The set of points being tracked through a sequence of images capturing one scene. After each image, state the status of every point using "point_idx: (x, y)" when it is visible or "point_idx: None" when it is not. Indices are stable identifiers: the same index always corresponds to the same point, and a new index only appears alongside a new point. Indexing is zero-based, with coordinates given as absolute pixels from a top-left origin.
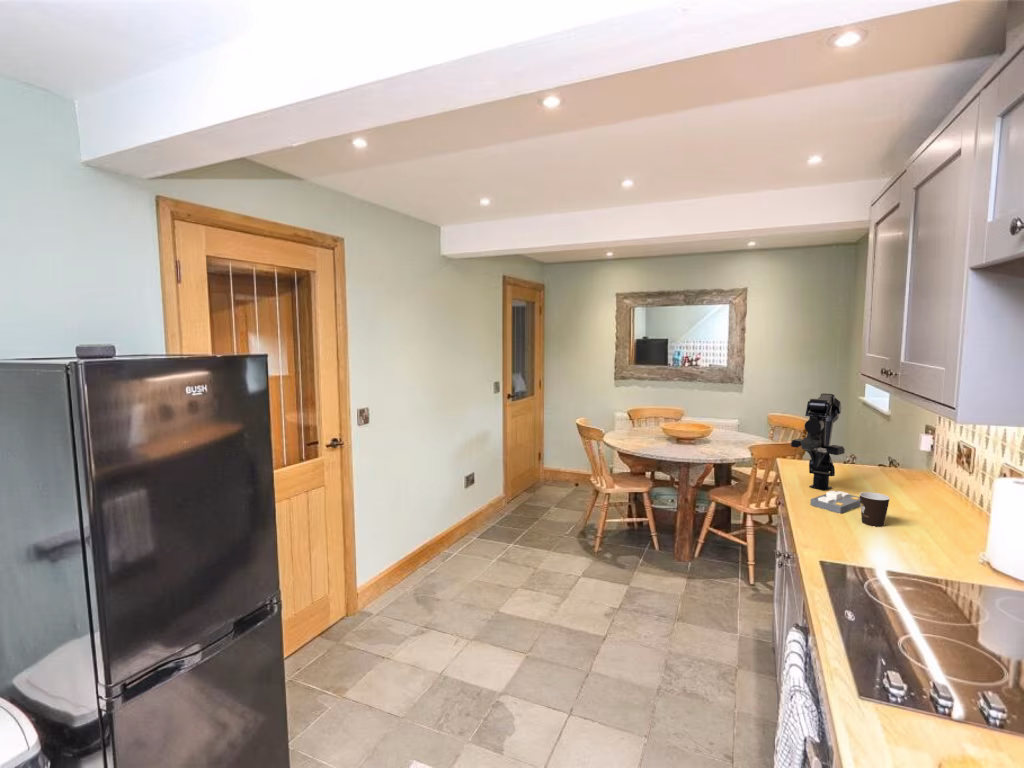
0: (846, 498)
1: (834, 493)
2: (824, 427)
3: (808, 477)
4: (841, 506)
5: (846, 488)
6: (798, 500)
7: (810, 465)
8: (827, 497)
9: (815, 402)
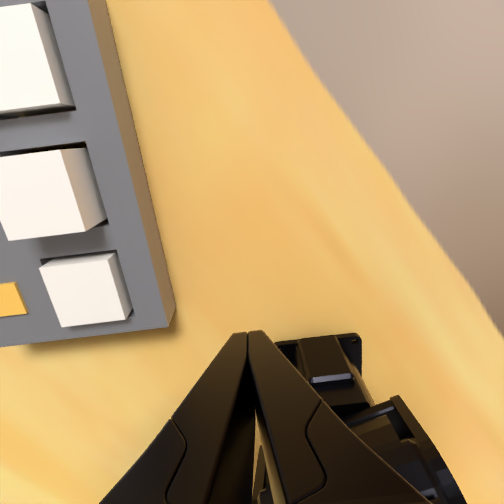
0: (19, 251)
1: (15, 181)
2: None
3: (450, 454)
4: None
5: None
6: (222, 19)
7: (419, 446)
8: (24, 103)
9: None
